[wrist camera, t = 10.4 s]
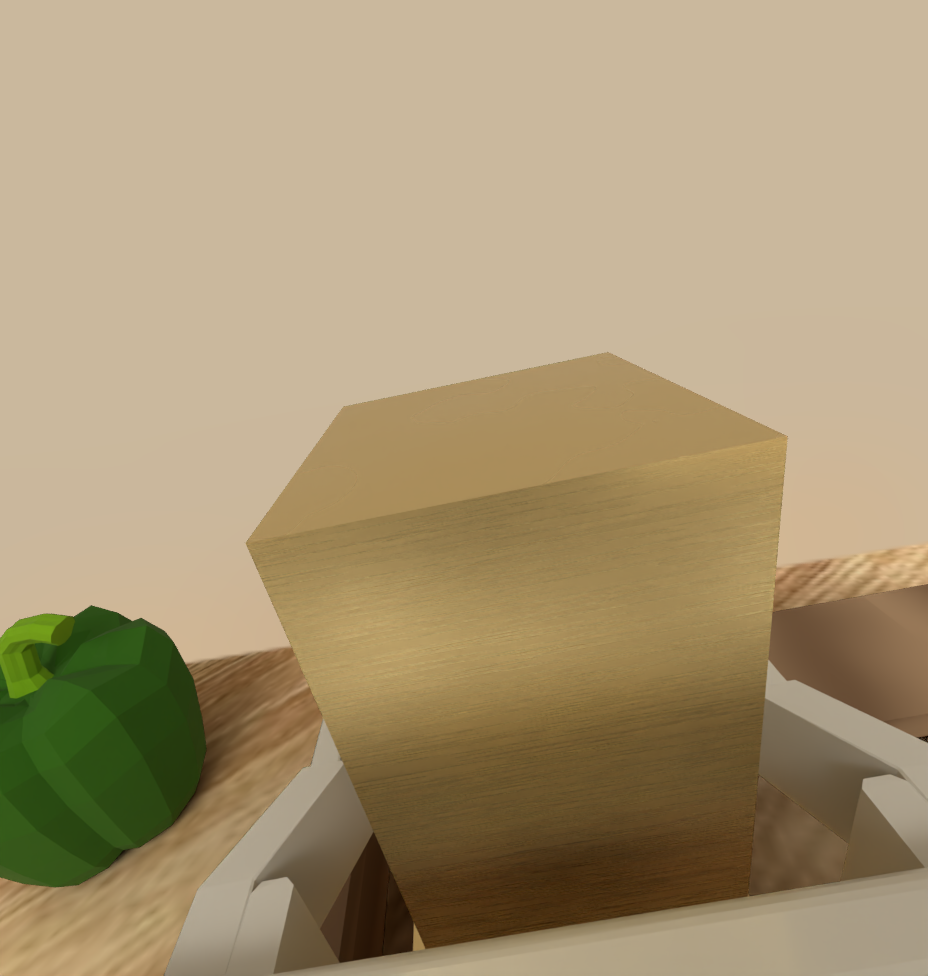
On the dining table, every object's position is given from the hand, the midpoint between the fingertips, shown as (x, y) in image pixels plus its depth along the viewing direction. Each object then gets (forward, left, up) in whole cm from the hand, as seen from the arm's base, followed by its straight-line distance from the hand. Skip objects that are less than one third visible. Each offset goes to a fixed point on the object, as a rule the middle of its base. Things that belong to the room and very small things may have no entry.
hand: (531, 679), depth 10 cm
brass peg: (0, -1, -8) cm, 8 cm away
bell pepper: (-17, +6, -10) cm, 21 cm away
